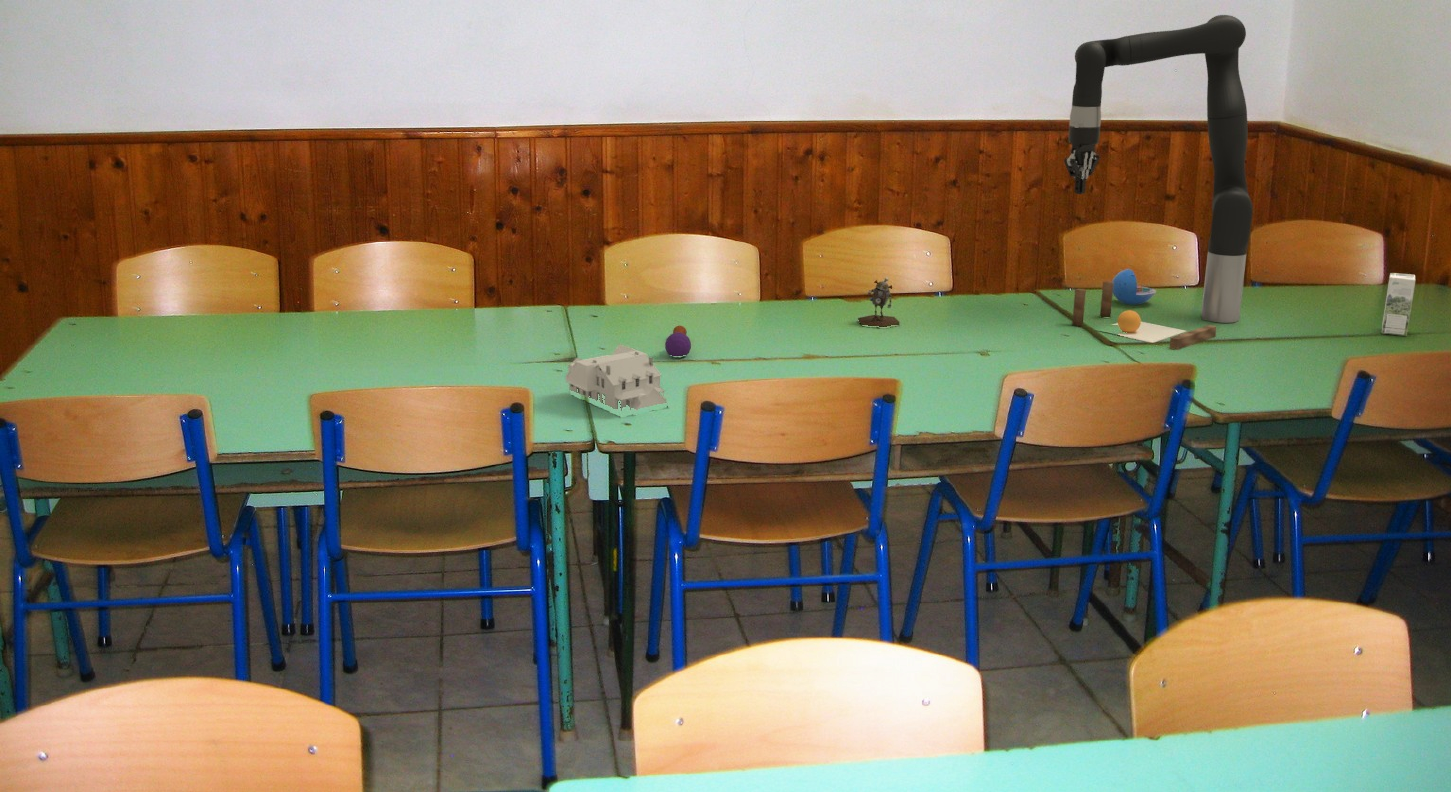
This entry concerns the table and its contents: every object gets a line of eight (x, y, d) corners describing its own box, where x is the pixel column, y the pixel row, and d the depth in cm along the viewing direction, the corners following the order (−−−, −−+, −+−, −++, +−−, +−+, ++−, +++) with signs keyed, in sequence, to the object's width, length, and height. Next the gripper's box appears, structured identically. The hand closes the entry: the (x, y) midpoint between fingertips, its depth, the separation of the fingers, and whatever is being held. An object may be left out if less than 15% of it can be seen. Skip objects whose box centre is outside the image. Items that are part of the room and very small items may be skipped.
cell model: (1161, 307, 366) (1165, 272, 363) (1119, 309, 364) (1122, 273, 361) (1144, 299, 376) (1147, 264, 373) (1102, 300, 374) (1105, 265, 371)
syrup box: (1406, 331, 343) (1415, 273, 339) (1406, 336, 338) (1415, 278, 334) (1381, 328, 346) (1389, 271, 341) (1381, 334, 340) (1389, 276, 336)
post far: (1103, 315, 358) (1106, 280, 355) (1112, 316, 356) (1115, 282, 354) (1098, 316, 356) (1101, 282, 354) (1106, 318, 355) (1109, 284, 352)
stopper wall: (1207, 334, 339) (1208, 324, 339) (1215, 336, 338) (1216, 326, 337) (1169, 348, 328) (1170, 337, 327) (1177, 349, 326) (1178, 339, 325)
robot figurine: (851, 325, 347) (852, 278, 344) (862, 317, 355) (863, 271, 352) (894, 330, 343) (896, 282, 340) (904, 321, 351) (906, 275, 348)
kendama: (694, 322, 334) (693, 337, 315) (689, 346, 336) (688, 362, 316) (669, 317, 334) (667, 332, 315) (665, 341, 335) (662, 358, 316)
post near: (1076, 323, 350) (1078, 288, 347) (1084, 325, 348) (1087, 290, 345) (1070, 324, 348) (1072, 289, 345) (1079, 326, 346) (1081, 291, 344)
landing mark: (1129, 319, 353) (1129, 319, 353) (1187, 331, 342) (1187, 330, 342) (1094, 330, 343) (1094, 329, 343) (1152, 343, 332) (1152, 342, 332)
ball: (1149, 322, 339) (1136, 335, 343) (1138, 304, 341) (1125, 318, 345) (1132, 324, 336) (1120, 338, 340) (1121, 306, 338) (1109, 320, 342)
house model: (613, 422, 274) (612, 374, 272) (560, 397, 290) (559, 352, 287) (690, 404, 286) (690, 358, 283) (635, 382, 301) (635, 338, 298)
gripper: (1086, 121, 354) (1081, 189, 359) (1057, 125, 345) (1052, 194, 350) (1112, 123, 348) (1106, 192, 354) (1083, 127, 340) (1077, 198, 345)
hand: (1079, 193), depth 352 cm, fingers closed
